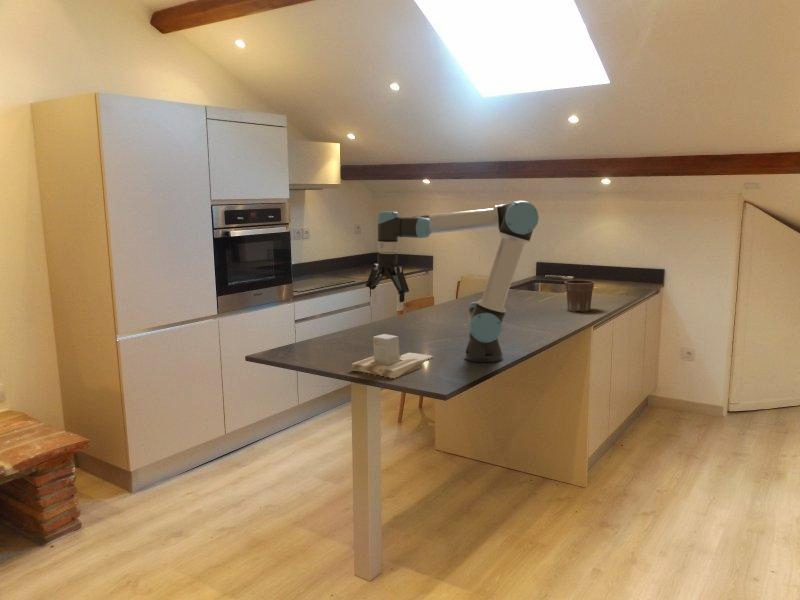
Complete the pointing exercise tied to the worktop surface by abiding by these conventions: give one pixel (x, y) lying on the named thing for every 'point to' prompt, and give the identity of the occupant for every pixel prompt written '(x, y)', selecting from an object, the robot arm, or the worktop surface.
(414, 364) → the pocket block
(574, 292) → the plant pot
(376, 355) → the small box
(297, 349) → the worktop surface
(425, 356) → the ceramic tile
